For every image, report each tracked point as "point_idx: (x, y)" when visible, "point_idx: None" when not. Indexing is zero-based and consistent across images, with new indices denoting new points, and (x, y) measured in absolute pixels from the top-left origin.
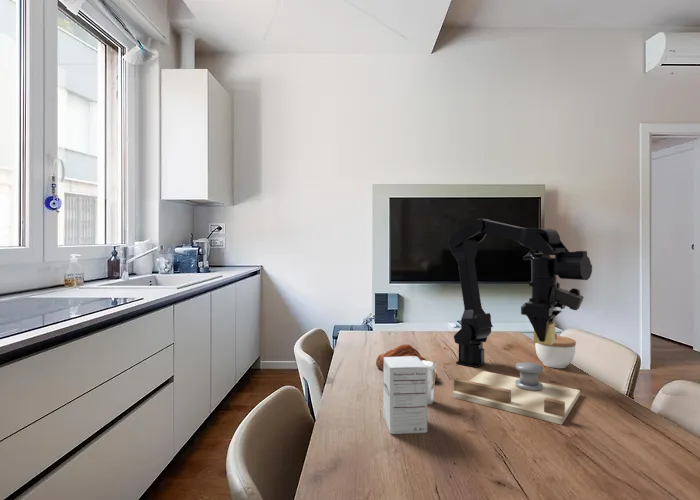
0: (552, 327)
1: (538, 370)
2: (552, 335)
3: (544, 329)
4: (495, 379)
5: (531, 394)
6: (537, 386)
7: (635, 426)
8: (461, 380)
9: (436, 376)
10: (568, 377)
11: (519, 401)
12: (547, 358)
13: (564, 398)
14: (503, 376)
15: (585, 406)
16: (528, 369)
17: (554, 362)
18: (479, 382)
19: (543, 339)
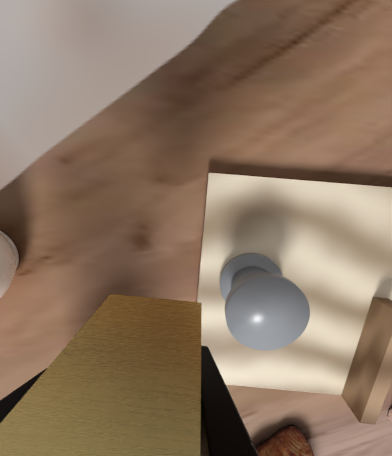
0: (138, 413)
1: (295, 285)
2: (159, 339)
3: (249, 451)
4: (238, 348)
5: (304, 268)
6: (267, 265)
7: (366, 39)
8: (373, 412)
9: (296, 442)
10: (78, 211)
11: (364, 282)
12: (8, 277)
13: (296, 200)
14: (204, 339)
15: (282, 155)
16: (309, 311)
17: (11, 256)
18: (278, 370)
19: (212, 360)
